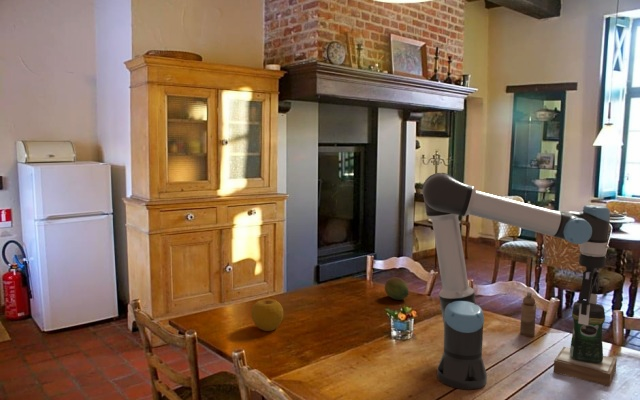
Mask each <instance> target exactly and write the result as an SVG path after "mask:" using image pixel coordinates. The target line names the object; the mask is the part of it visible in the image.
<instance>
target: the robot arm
mask: <svg viewBox="0 0 640 400" xmlns="http://www.w3.org/2000/svg"><path fill="white" fill-rule="evenodd" d="M422 195H423V201H424V207H425V213H426V217H427V218H429V219H430V220H431V221H432V222H431V223H432V229H433V235H434V240H435V248H436V254H437V255H436V256H437V261H438V267H439V274H440V280H441V287H442V288H441V290H440V291H439V293H438V297H439V302H440V303H439V304H440V313H441V317H442V322H443V352H442V355H441V358H440V361H439V364H438V365H437V370H436V377H437V379H438V380H439V381H440V382H441V383H442V384H444V385H446V386H448V387H451V388H453V389H454V388H455V389H458V390H459V389H460V390H478V389H481V388H483V387H484V386H486V384H487V377H488V375H487V374H488V373H487V371H486V367H485V364H484V360H483V340H484V337H483V336H484V335H483V334H484V323H485V316H484V311H483V309H482V307H480V305H478V304H477V301H476V296H475V294H476V293H475V289H473V288H472V287H471V286H470V285H469V281H468V280H469V279H468V273H467V267H466V260H465V253H464V247H463V239H462V234H461V227H460V221H459V216H460V217H461V216H462V217H466V216H468V215H469V216H473V217H474V216H475V217H478V218H482V219H485V220H489V221H493V222H498V223H500V224H505V225H508V226H512V227H516V228H520V229H523V230H527V231H530V232H535V233H538V234H543V235H546V236H550V237H554V238H557V239H561V240H563V241H564V240H565V241H567V242H568V243H571V244H573V245H574V244H575V245H579V252H580V253H579V255H578V256H579V257H578V265H579V266H581V267H584V268H585V270H584V271H583V273H582V283H581V286H580V294H579V299H577V301H576V302H577V303H579V304H580V309H579V321H578V323H579V324H584V325H588V322H589V311H590V303H592V304H598V295H601V290H600V288H599V287H600V284H599V283H600V280H599V279H600V277H599V276H600V272H599V271H600V269H604V268H605V267H606V262H607V256H606V255H607V249H610V246H609V245H608V238H609V237H608V236H609V229H610V223H611V220H610V216H611V214H610V213H611V212H610V209H609V207H608V206H607V207H606V206H603V205H591V204H589V205H584V206H583V209H582V210H581V211H573V210H572V211H570V210H567V211H566V210H556V209H554V210H552V209H549V208H544V207H541V206H536V205H532V204H529V203H525V202H521V201H518V200H514V199H510V198H507V197H506V198H505V197H502V196H498V195H495V194H491V193H487V192H484V191H480V190H476V189H475V187H474V186H473V185H470V184H465V183H463V182H461V181H459V180H457V179H455V178H454V176H452V175H451V174H449V173H447V172H446V173H445V172H437V173H433V174H432V175H429V176H428V177H427V178H425V181H424V182H423V184H422Z"/></svg>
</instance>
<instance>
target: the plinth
mask: <svg viewBox="0 0 640 400" xmlns="http://www.w3.org/2000/svg"><path fill="white" fill-rule="evenodd" d="M616 369H617V358H614V357H610V356H606V355H603V361H602V362H600V363H590V362H583V361H578V360H575V359H573V358H572V357H571V356H570V347H567V346H563V347H562V349H561V350H560V351H559V353H558V355H557V356H556V357H555V359H553V373H557V374H559V375H564V376H568V377H571V378H575V379H579V380H583V381H587V382H590V383H594V384H597V385H598V384H599V385H602V386H606V387H610V386H611V384H612V380H613V378H614V376H615V373H616V371H617V370H616Z"/></svg>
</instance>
